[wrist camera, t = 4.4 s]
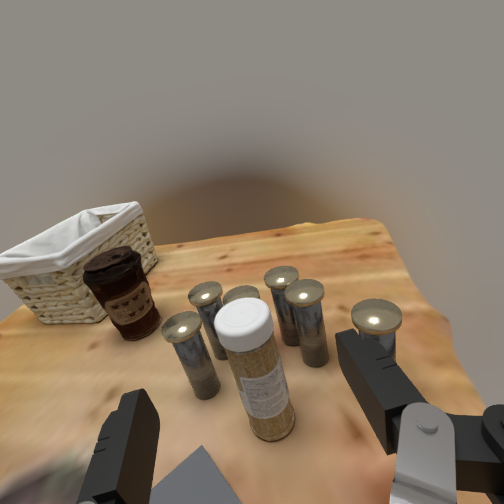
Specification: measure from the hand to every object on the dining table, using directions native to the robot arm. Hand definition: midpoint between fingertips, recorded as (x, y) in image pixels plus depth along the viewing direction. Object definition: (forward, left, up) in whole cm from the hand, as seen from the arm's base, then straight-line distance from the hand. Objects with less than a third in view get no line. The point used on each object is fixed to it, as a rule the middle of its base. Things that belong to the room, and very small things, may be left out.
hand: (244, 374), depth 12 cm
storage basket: (-56, 0, -18) cm, 59 cm away
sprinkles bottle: (-9, +5, -18) cm, 21 cm away
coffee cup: (-36, +1, -18) cm, 40 cm away
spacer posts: (-12, +9, -18) cm, 23 cm away
